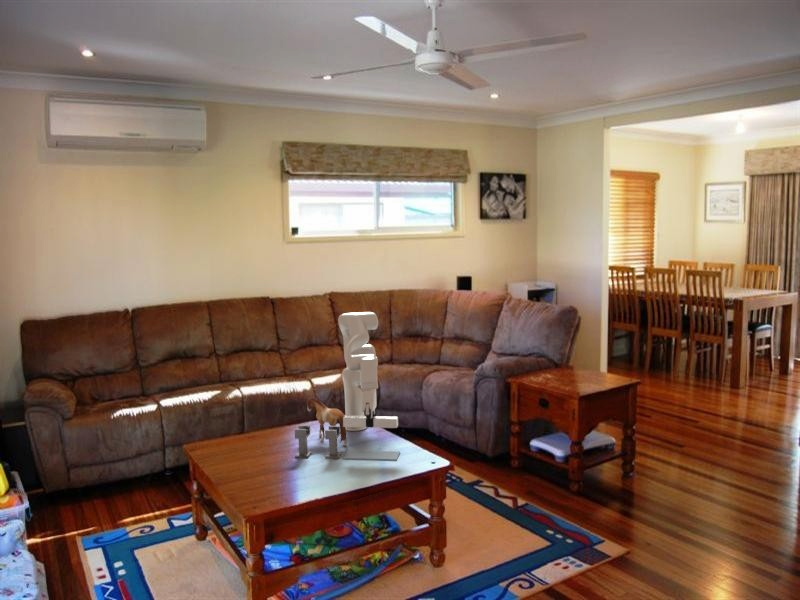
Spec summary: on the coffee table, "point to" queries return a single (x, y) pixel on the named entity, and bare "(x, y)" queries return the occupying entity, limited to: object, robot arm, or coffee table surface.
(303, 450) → the post
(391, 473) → the coffee table surface
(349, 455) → the mat
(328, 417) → the horse figurine
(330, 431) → the post
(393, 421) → the rail
